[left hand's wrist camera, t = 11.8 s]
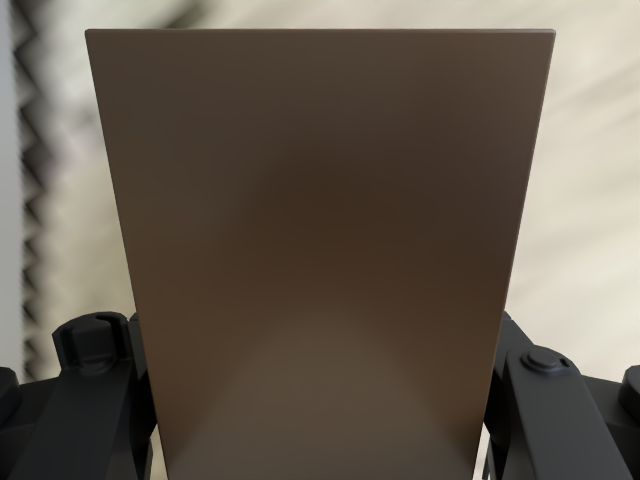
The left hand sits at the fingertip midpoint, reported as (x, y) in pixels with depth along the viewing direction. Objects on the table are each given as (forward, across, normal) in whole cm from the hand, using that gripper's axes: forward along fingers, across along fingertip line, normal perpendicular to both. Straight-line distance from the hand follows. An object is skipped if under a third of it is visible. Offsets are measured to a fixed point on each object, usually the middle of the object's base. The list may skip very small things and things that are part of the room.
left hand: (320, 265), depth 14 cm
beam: (+1, 0, -29) cm, 29 cm away
